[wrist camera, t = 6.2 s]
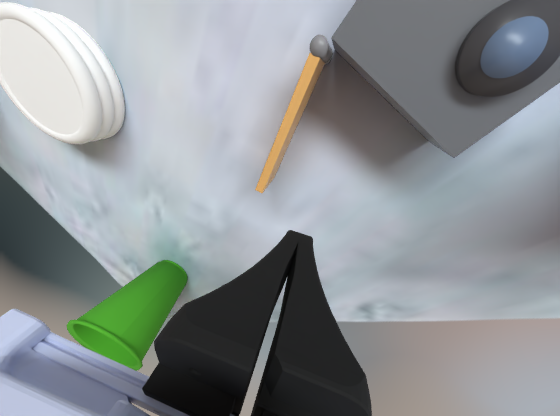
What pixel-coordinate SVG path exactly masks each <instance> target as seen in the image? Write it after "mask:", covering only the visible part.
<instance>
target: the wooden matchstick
mask: <svg viewBox="0 0 560 416" xmlns="http://www.w3.org/2000/svg"><path fill="white" fill-rule="evenodd" d="M310 51H311V53H309V56H308V59H307V61H306V64H305V66H304V69H303V71H302V74H301V76H300V79H299V81H298V84H297V86H296V89H295V91H294V94H293V96H292V99H291V101H290V104H289V106H288V109H287V111H286V114H285V116H284V119H283V121H282V124H281V126H280V129H279V131H278V134H277V137H276V139H275V142H274V144H273V147H272V149H271V152H270V154H269V157H268V159H267V162H266V164H265V167H264V169H263V172H262V174H261V177H260V179H259V182H258V184H257V187H256V189H255V190H257V191H259V192H261V193H263V192H264V191H265V189H266V188H267V187H268V185H269V184H270V183H271V181H272V180H273V179H274V177H275V175H276V173H277V170H278V168H279V166H280V164H281V161H282V159H283V157H284V155H285V152H286V150H287V148H288V146H289V143H290V141H291V139H292V137H293V134H294V132H295V130H296V127H297V125H298V123H299V121H300V118H301V116H302V114H303V112H304V109H305V107H306V105H307V103H308V100H309V98H310V96H311V94H312V91H313V89H314V87H315V85H316V82H317V80H318V78H319V76H320V73H321V71H322V69H323V67H324V64H325V62H327V61H328V60H329V59H330V57H331V49H330V47H329V44H328V41H327V39H326V37H325V36H323V35H317V36H315V37H314V38H313V39H312V41H311V43H310Z"/></svg>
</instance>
